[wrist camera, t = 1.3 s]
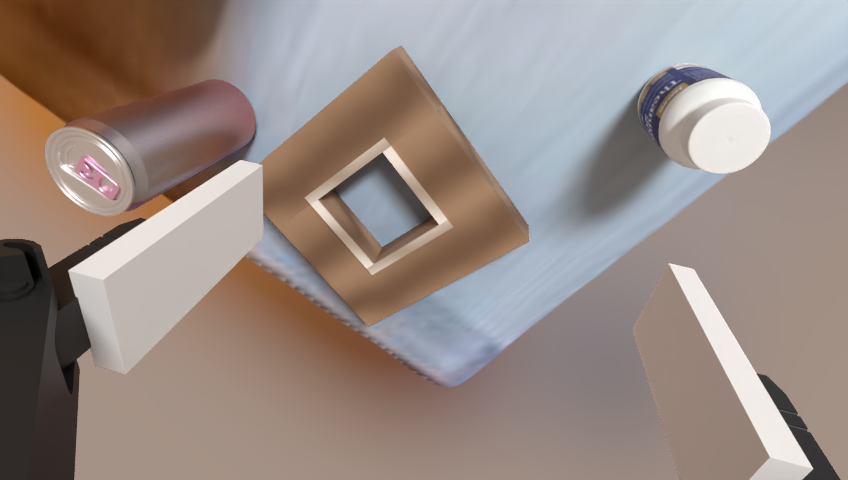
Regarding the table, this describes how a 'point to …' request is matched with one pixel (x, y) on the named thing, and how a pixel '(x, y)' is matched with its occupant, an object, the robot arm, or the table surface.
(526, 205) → the table surface
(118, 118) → the beverage can
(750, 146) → the pill bottle
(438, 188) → the board
